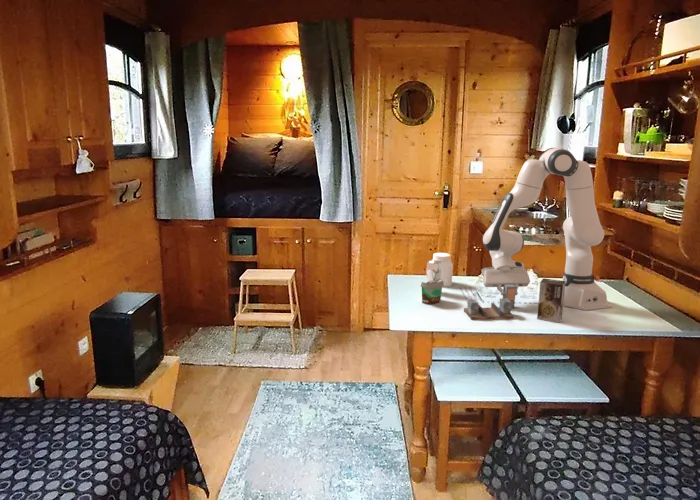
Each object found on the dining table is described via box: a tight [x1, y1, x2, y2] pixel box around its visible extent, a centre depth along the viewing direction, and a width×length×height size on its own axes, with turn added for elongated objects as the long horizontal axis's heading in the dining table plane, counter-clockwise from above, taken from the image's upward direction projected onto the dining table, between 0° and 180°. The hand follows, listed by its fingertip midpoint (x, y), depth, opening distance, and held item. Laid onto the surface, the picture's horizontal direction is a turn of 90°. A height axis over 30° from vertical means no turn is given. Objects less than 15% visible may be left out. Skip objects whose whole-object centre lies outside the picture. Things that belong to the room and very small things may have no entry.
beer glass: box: [426, 259, 442, 282], centre depth 258 cm, size 7×7×15 cm
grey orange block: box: [502, 284, 516, 310], centre depth 239 cm, size 4×4×10 cm
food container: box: [420, 278, 445, 305], centre depth 244 cm, size 12×6×10 cm, turn 129°
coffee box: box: [536, 278, 565, 323], centre depth 225 cm, size 9×6×16 cm
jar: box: [431, 252, 454, 287], centre depth 272 cm, size 12×10×15 cm
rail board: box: [463, 298, 515, 321], centre depth 229 cm, size 18×11×6 cm, turn 95°
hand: (509, 294), depth 238 cm, fingers closed on grey orange block, 4 cm apart
